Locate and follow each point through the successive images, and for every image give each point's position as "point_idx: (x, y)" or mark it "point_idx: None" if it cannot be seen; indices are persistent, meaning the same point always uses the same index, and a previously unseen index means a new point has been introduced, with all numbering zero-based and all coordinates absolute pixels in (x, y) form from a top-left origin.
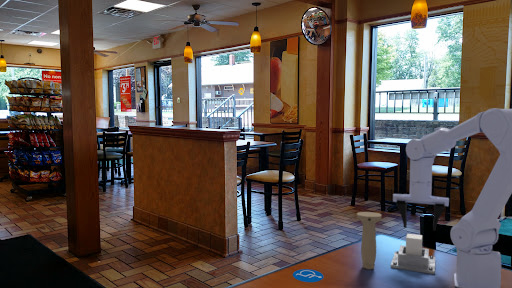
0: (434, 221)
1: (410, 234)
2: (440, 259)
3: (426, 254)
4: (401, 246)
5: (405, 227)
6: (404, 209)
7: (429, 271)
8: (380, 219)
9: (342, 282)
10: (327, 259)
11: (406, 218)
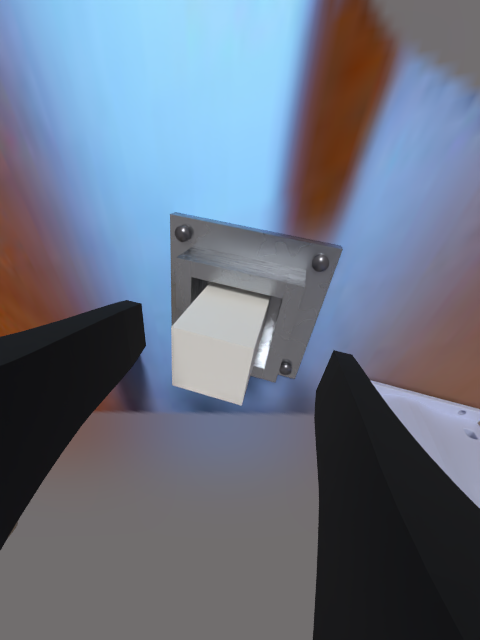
0: (323, 476)
1: (189, 341)
2: (370, 233)
3: (276, 351)
4: (180, 272)
5: (141, 346)
6: (13, 507)
7: (279, 373)
8: (13, 528)
9: (104, 408)
10: (19, 306)
11: (97, 330)
